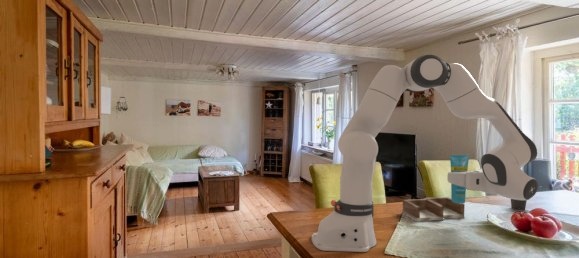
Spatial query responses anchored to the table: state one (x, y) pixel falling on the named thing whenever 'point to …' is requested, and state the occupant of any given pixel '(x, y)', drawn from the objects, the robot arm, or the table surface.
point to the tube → (458, 165)
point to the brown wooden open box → (422, 210)
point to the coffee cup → (518, 204)
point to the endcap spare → (449, 207)
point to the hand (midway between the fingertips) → (457, 173)
